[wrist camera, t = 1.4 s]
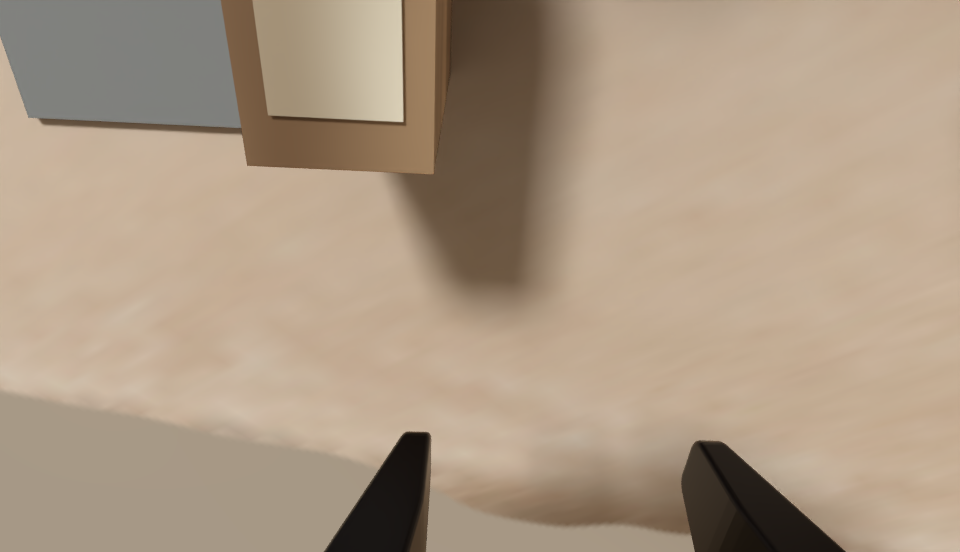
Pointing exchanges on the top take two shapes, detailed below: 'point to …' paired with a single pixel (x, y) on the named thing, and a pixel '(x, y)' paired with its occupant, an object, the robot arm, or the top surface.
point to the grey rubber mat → (121, 60)
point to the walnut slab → (340, 81)
